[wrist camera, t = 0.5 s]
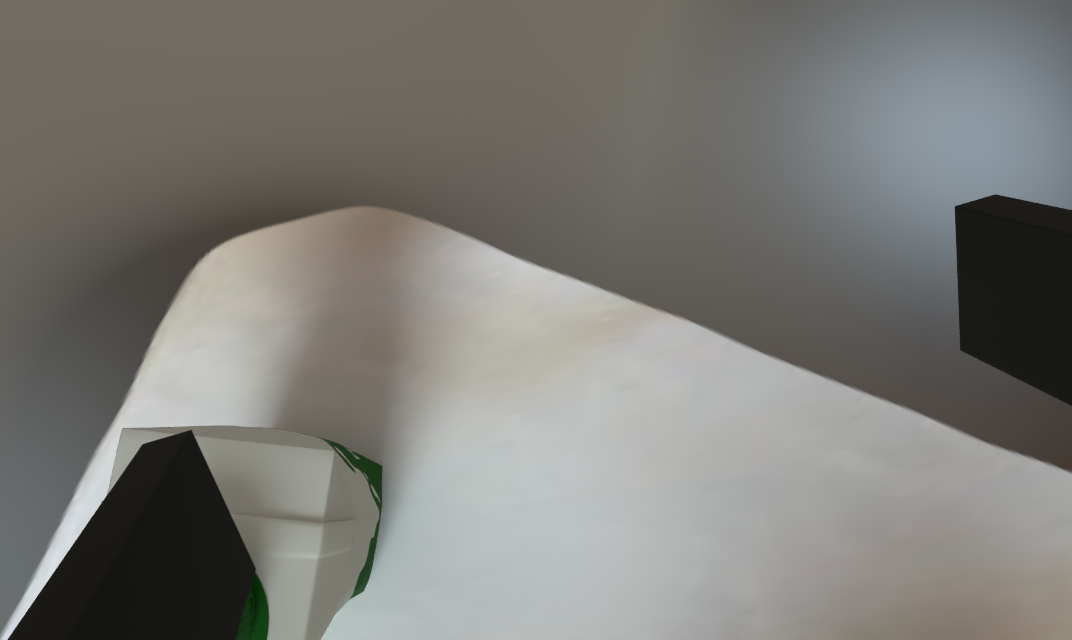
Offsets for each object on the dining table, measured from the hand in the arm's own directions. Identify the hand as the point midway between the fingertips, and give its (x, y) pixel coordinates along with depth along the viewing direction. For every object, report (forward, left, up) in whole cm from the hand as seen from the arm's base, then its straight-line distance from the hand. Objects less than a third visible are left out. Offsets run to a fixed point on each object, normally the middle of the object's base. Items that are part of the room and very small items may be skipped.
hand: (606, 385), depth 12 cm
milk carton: (+3, +11, -33) cm, 35 cm away
